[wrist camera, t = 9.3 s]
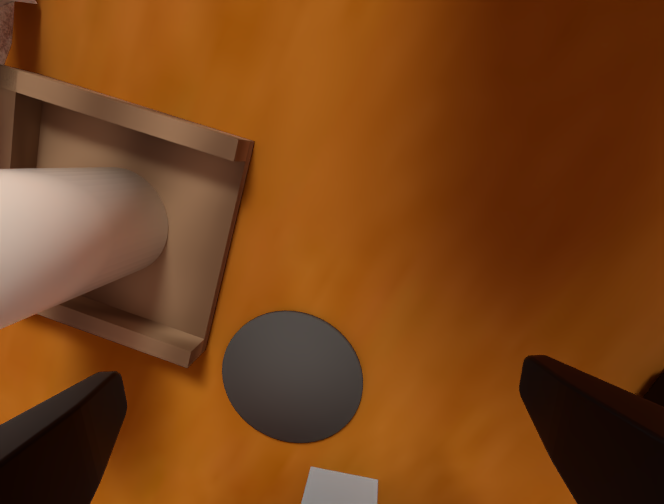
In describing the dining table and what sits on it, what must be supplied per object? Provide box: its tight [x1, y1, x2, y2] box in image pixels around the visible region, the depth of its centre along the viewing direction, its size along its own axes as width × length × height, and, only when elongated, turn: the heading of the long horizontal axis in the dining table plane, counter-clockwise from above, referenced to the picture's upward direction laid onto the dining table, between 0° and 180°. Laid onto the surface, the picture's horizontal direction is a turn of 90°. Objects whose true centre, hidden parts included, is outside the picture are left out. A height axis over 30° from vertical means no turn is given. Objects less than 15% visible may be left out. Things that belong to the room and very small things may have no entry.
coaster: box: [222, 311, 363, 443], centre depth 22 cm, size 8×8×1 cm
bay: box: [0, 64, 254, 368], centre depth 21 cm, size 12×12×2 cm
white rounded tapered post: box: [0, 167, 168, 329], centre depth 15 cm, size 6×6×12 cm
